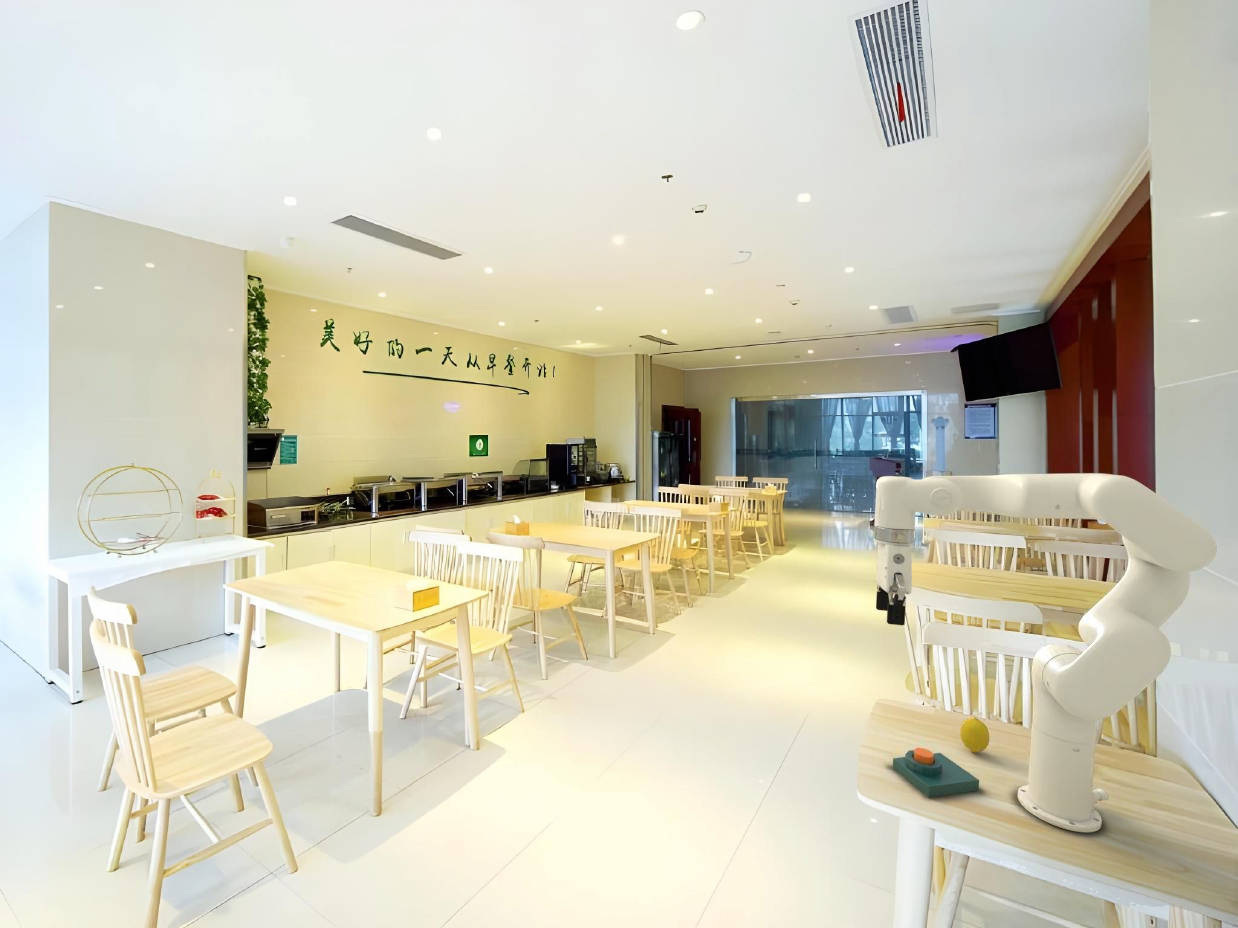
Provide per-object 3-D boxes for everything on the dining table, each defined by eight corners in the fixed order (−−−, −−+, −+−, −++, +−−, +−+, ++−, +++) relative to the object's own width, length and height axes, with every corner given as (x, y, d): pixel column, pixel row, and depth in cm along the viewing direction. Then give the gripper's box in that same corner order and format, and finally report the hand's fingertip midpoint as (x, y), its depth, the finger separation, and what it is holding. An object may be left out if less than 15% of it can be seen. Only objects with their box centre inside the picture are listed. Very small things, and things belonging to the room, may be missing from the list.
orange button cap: (924, 754, 118) (924, 746, 118) (937, 764, 114) (937, 756, 114) (909, 756, 117) (910, 748, 117) (922, 766, 114) (923, 757, 114)
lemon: (960, 742, 130) (962, 709, 130) (988, 751, 127) (990, 716, 126) (958, 753, 125) (960, 718, 125) (987, 762, 122) (989, 726, 122)
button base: (939, 762, 122) (940, 744, 121) (978, 790, 112) (980, 771, 112) (892, 767, 119) (893, 749, 119) (928, 797, 109) (929, 777, 109)
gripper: (926, 544, 106) (921, 632, 107) (902, 530, 123) (898, 607, 124) (884, 541, 108) (879, 628, 109) (865, 528, 125) (862, 603, 126)
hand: (889, 616), depth 116 cm, fingers open, 9 cm apart
